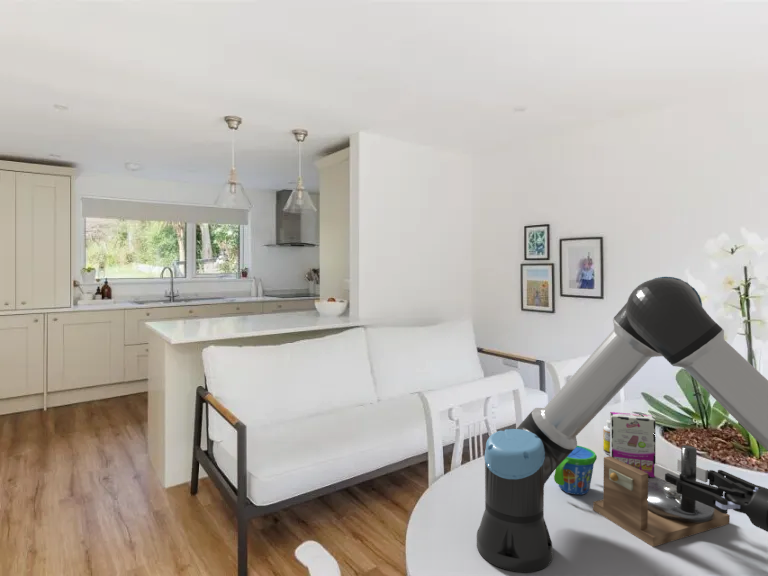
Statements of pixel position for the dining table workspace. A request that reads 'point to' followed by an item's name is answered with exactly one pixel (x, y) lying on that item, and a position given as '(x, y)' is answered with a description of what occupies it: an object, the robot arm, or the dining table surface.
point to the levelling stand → (643, 507)
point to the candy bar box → (633, 440)
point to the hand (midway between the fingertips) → (667, 467)
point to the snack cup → (576, 471)
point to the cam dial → (675, 504)
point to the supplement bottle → (606, 438)
